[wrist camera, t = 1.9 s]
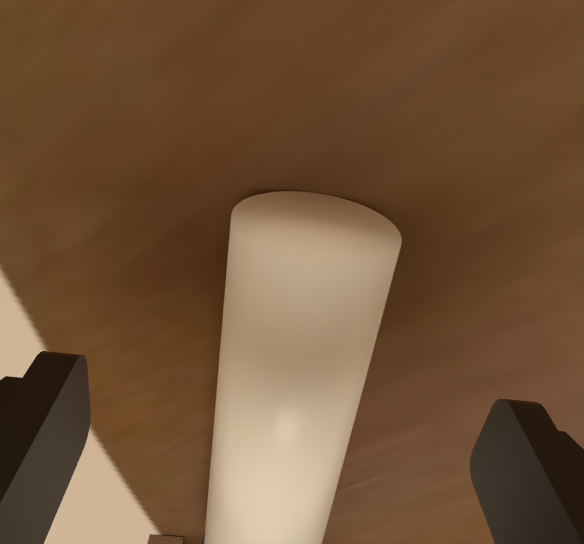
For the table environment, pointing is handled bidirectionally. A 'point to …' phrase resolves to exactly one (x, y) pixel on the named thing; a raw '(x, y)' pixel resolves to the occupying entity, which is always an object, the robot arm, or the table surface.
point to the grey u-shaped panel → (164, 539)
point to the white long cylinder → (293, 360)
